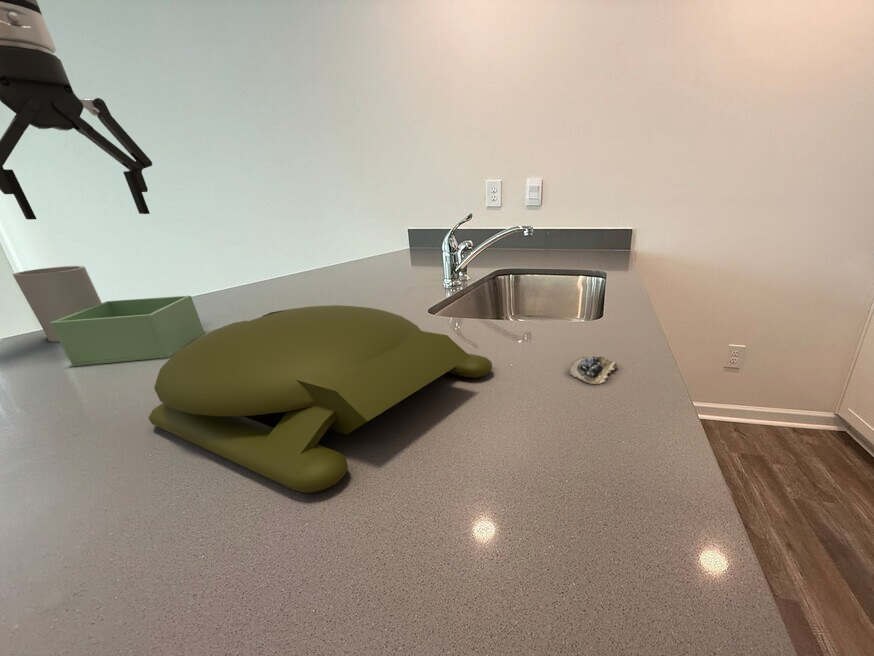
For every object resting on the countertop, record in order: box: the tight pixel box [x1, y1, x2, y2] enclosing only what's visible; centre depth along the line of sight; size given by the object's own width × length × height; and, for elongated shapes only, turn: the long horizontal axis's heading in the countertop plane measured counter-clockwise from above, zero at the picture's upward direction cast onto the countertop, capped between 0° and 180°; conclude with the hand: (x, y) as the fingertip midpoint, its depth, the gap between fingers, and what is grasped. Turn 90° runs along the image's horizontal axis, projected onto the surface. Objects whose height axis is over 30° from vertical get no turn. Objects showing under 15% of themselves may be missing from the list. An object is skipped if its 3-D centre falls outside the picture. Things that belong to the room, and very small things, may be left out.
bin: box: [50, 295, 205, 367], centre depth 69 cm, size 13×13×7 cm
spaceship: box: [148, 304, 493, 494], centre depth 51 cm, size 35×31×10 cm
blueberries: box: [569, 355, 618, 385], centre depth 56 cm, size 7×8×2 cm
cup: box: [12, 265, 103, 343], centre depth 76 cm, size 9×9×12 cm
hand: (92, 216), depth 65 cm, fingers open, 13 cm apart
